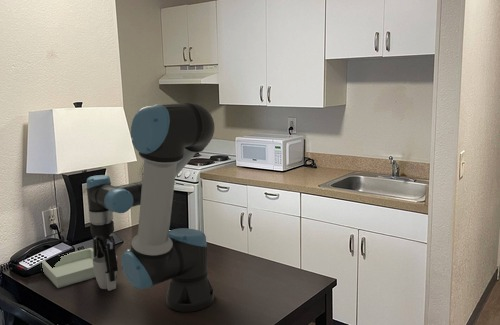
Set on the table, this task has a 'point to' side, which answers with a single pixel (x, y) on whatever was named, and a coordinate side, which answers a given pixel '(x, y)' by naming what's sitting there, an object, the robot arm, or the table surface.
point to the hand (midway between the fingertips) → (107, 284)
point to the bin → (71, 268)
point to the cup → (101, 271)
